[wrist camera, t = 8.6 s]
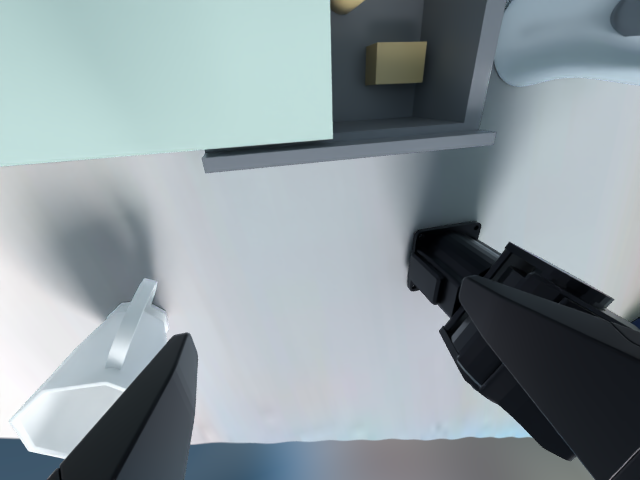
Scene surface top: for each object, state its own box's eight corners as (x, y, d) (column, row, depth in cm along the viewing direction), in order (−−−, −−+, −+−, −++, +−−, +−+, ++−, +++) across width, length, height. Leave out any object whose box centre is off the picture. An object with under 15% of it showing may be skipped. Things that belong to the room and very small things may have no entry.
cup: (78, 346, 22) (0, 464, 15) (105, 240, 19) (23, 326, 12) (173, 359, 25) (146, 463, 18) (211, 269, 21) (196, 351, 15)
